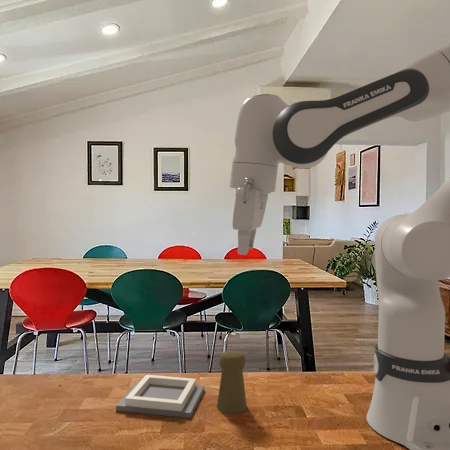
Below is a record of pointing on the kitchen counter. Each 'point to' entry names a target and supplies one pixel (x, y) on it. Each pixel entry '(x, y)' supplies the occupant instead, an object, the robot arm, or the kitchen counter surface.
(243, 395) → the olive knobbed peg
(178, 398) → the notch board
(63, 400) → the kitchen counter surface
